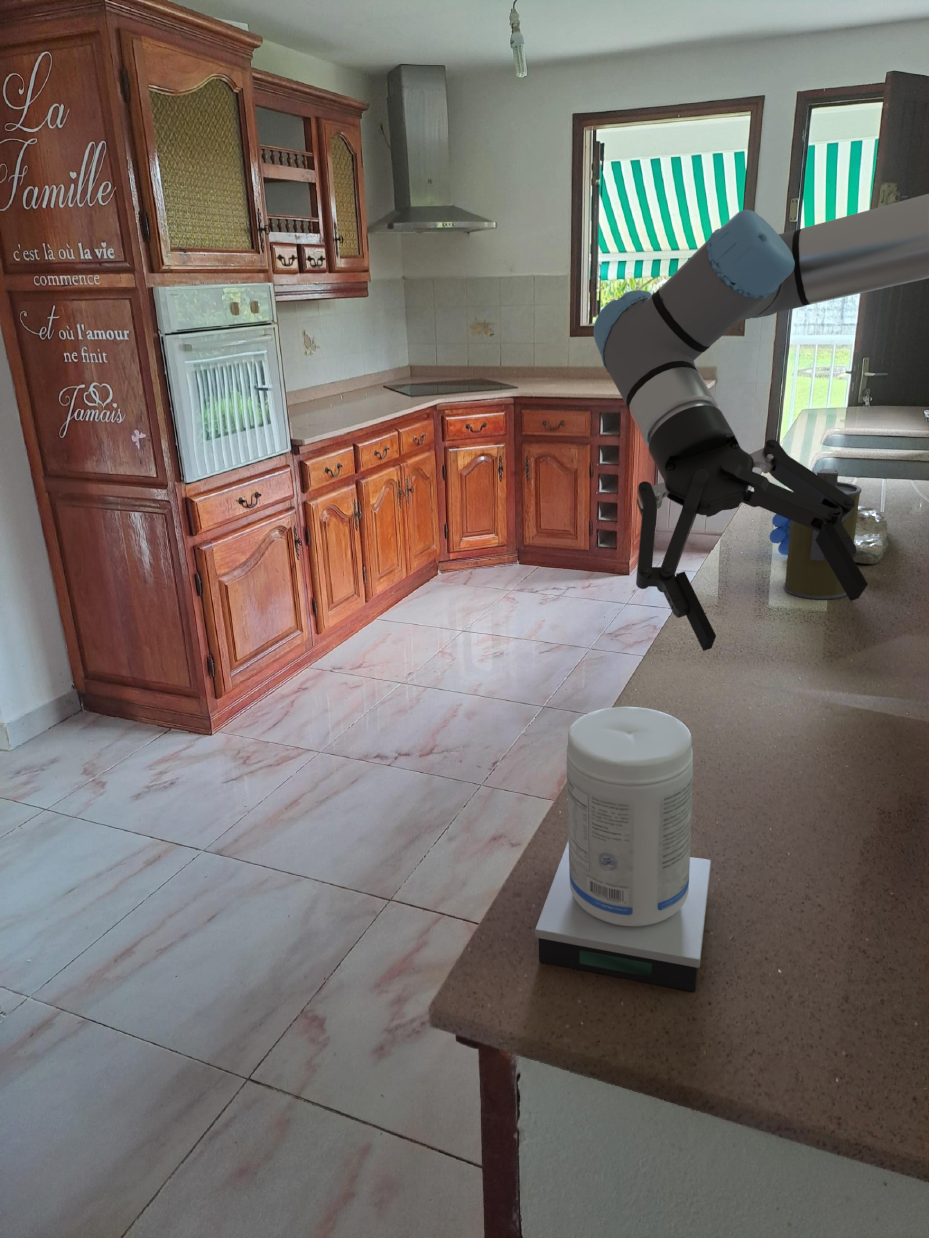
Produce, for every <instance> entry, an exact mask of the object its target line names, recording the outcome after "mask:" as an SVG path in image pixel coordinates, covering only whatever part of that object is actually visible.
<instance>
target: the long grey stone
mask: <svg viewBox="0 0 929 1238" xmlns="http://www.w3.org/2000/svg"><path fill="white" fill-rule="evenodd" d="M887 526H888V522H887V520H886V519H885V516H883V515H882V513H880V512H879V511H878V510H876V509H874V508H873V507H871V506H864V505H858V513H857V522H856V530H855V538H854V544H855V545H856V550H857V552H856V554H855V555H854V557H853V560H854V561H855V563H856V564H864V565H875V564H877V563H879V562H880V560H882V559H883V557H884V555H885V554H886V553H887V548H888V546H889V545H890V543H889V541H888V539H887V536H888V531H887V530H888V527H887Z"/></svg>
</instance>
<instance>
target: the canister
mask: <svg viewBox="0 0 929 1238" xmlns="http://www.w3.org/2000/svg"><path fill="white" fill-rule="evenodd" d="M816 474H817V475H818V476H820V477H821V478H823V479H824V480H826V481H827V482H829V483H830V484H832V485H833V486H835V487H836V488H838V489H839V490H841V491H842V492H844V493H845V494H847V495H848V496H850V497H851V498H853V499H854V501H855V506H854V508H853V510H852V512H851V513H850V515H849V517H848V519H847V520H846V521H845V522H842V524H843V526H844V527H845V529H846V531H847V532H848V534H849V536H850V538H851V539H852V541H853V542H854V538H855V530H856V522H857V513H858V506H860V495H861V493H862V488H861V487H860V486H859V485H856V484H854V483H848V482H842V481H838V480H839V479H838V478H839V470H837V469H836V468H822V469H820V470H818V471H817V472H816ZM818 534H819V532H818V531H815V530H813V529H811V528H808V527H806V526H804V525H801V524H799V523H797V522H794V521H792V520H791V524H790V535H789V547H788V555H787V559H786V573H785V581H784V583H783V589H784V591H785V592H787V593H789V594H790V595H793V596H795V597H800V598H804V599H809V598H810V600H826V601H827V600H837V599H842V598H844V597H846V596H847V594H846V592H845V591H844V589H843V587H842V585H841V584H840V582H839V580H838V579H837V577H836V575H835V573H834V572H833V570H832V568H831V567H830V565H829V563H828V561H827V560H826V558H825V556H824V554H823V553H822V551H821V549H820V548H819V546H818V544H817V542H816V541H815V540H816V538H817V536H818Z"/></svg>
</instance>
